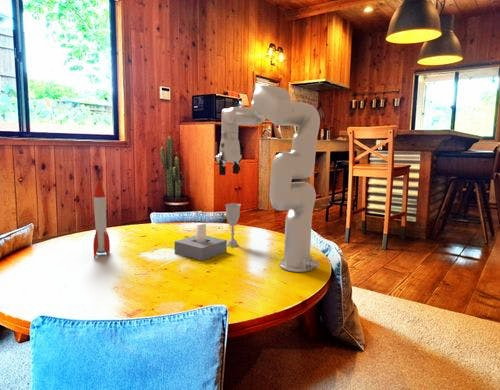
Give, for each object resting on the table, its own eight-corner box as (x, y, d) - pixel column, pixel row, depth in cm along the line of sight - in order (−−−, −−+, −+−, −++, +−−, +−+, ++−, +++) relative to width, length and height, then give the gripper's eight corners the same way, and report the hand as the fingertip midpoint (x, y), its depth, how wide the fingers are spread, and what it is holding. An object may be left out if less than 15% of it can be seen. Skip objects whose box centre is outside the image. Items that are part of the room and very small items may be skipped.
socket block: (226, 251, 154) (226, 240, 154) (201, 260, 142) (201, 248, 142) (200, 245, 163) (200, 234, 162) (174, 253, 151) (174, 241, 150)
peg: (207, 252, 153) (208, 223, 151) (201, 254, 150) (201, 225, 148) (200, 250, 155) (200, 222, 154) (193, 252, 152) (193, 224, 150)
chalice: (233, 248, 160) (233, 207, 157) (221, 245, 164) (221, 205, 161) (243, 244, 165) (244, 204, 163) (231, 241, 169) (232, 202, 167)
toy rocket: (93, 257, 144) (89, 180, 139) (95, 253, 149) (91, 178, 144) (109, 256, 145) (105, 180, 140) (110, 252, 150) (106, 178, 146)
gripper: (223, 136, 159) (223, 176, 161) (247, 137, 172) (246, 173, 175) (210, 136, 163) (210, 175, 165) (235, 136, 177) (234, 172, 179)
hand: (229, 174), depth 170 cm, fingers open, 9 cm apart
